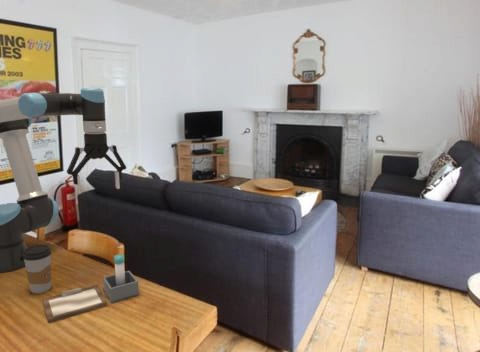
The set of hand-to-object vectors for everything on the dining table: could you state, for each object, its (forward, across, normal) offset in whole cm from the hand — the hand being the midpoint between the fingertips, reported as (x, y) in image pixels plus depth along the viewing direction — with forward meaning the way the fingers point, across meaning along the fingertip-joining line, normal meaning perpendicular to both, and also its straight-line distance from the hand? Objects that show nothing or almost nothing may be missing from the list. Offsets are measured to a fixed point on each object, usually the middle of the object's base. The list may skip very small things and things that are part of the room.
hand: (99, 190), depth 134 cm
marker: (+31, 0, -20) cm, 37 cm away
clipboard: (+32, -14, -19) cm, 40 cm away
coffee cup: (+32, -22, -3) cm, 39 cm away
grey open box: (+32, 0, -20) cm, 37 cm away
